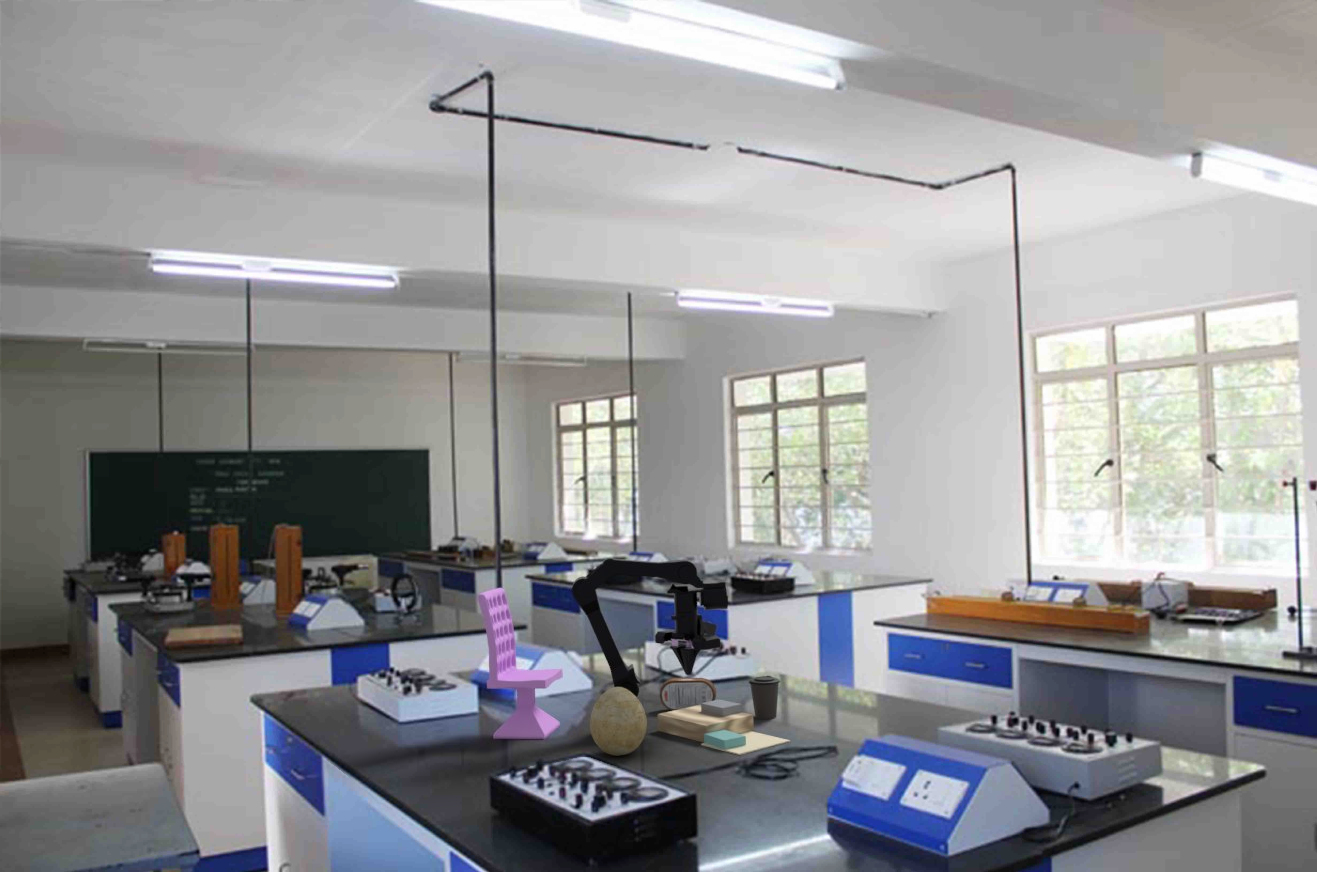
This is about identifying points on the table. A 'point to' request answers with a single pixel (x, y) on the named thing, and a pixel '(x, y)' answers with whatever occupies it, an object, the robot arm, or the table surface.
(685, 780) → the table surface
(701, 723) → the wooden block
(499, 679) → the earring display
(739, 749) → the mat
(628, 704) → the fossilized egg
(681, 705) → the tin
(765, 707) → the coffee cup
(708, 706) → the gray rectangular block
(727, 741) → the teal block
